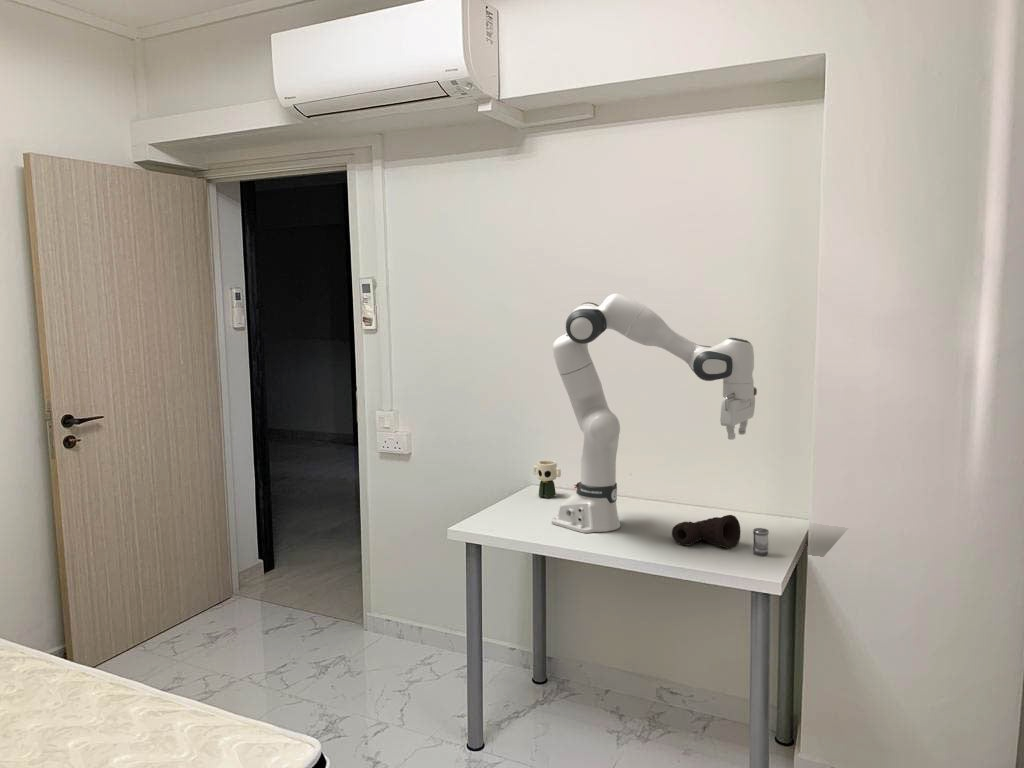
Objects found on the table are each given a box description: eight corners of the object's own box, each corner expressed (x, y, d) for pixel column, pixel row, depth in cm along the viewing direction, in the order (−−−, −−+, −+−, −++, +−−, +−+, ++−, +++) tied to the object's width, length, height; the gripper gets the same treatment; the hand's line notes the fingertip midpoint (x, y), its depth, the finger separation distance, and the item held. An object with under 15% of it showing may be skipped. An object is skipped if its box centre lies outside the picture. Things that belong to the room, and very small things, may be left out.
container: (765, 557, 220) (766, 533, 219) (750, 554, 222) (751, 531, 221) (770, 553, 223) (770, 529, 222) (755, 550, 225) (755, 527, 225)
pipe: (668, 518, 233) (711, 519, 222) (697, 511, 243) (739, 512, 232) (671, 550, 233) (714, 553, 221) (700, 542, 243) (742, 545, 232)
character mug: (529, 497, 286) (529, 462, 284) (537, 492, 292) (537, 459, 291) (556, 500, 281) (556, 465, 279) (564, 495, 287) (564, 461, 286)
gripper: (736, 396, 223) (735, 443, 225) (758, 388, 240) (757, 432, 242) (715, 394, 227) (714, 441, 229) (738, 387, 244) (737, 430, 245)
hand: (736, 436), depth 235 cm, fingers open, 8 cm apart
